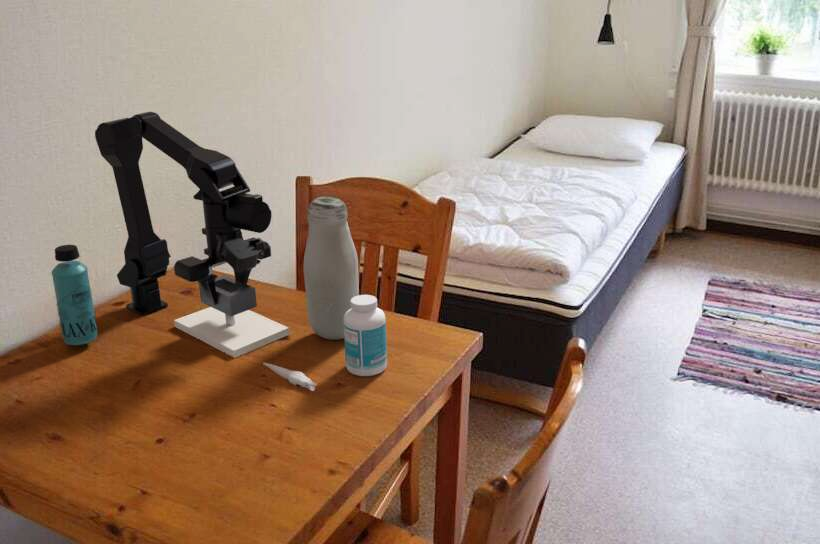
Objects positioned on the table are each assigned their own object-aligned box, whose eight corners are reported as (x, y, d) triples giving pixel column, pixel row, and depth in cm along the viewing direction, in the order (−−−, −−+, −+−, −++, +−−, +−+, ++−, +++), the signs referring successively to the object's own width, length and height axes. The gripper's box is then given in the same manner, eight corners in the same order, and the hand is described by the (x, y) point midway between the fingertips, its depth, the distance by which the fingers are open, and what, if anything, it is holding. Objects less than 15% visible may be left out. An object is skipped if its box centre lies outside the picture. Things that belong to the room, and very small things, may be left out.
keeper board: (175, 326, 163) (172, 304, 161) (228, 306, 171) (226, 285, 170) (234, 357, 150) (232, 334, 148) (289, 334, 159) (287, 311, 157)
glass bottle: (364, 326, 162) (360, 191, 152) (352, 349, 153) (347, 207, 142) (317, 323, 164) (309, 189, 153) (302, 345, 154) (293, 205, 144)
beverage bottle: (56, 349, 154) (37, 250, 146) (81, 334, 160) (64, 239, 152) (83, 355, 152) (65, 255, 144) (107, 340, 157) (92, 243, 150)
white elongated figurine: (322, 389, 139) (321, 379, 139) (310, 395, 138) (309, 385, 137) (269, 364, 149) (268, 355, 149) (257, 370, 147) (256, 360, 147)
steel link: (200, 302, 160) (198, 283, 158) (226, 293, 164) (224, 274, 162) (231, 316, 153) (229, 297, 152) (256, 306, 158) (255, 287, 156)
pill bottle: (389, 359, 149) (388, 291, 144) (384, 379, 142) (382, 309, 137) (349, 357, 150) (346, 290, 145) (342, 377, 143) (339, 307, 138)
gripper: (203, 246, 141) (211, 327, 147) (286, 221, 154) (291, 296, 160) (168, 232, 148) (177, 310, 154) (250, 209, 161) (256, 282, 167)
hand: (227, 299), depth 158 cm, fingers closed on steel link, 6 cm apart
